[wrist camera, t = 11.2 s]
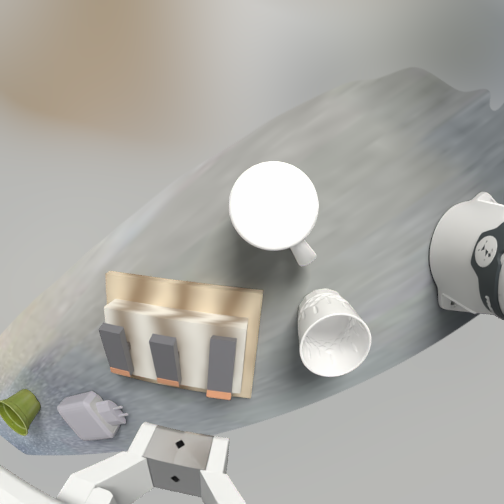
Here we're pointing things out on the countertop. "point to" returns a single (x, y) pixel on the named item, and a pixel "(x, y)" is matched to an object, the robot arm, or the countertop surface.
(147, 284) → the switch panel
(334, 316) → the white cup
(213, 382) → the rocker
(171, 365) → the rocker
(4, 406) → the plant pot
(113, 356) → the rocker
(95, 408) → the charger
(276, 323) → the countertop surface
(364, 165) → the countertop surface
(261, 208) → the mug
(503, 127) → the countertop surface
